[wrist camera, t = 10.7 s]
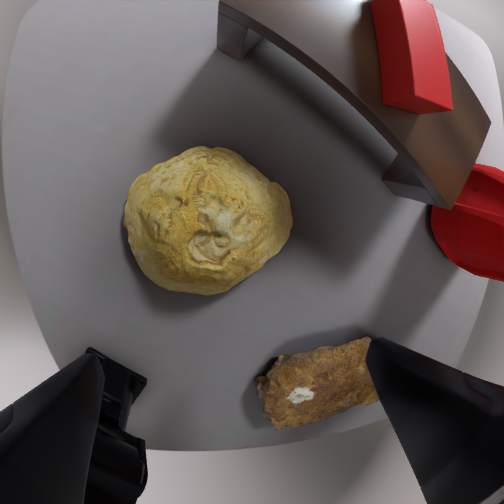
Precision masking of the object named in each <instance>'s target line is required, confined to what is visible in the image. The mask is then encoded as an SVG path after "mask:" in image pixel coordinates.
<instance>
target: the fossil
mask: <svg viewBox="0 0 504 504" xmlns="http://www.w3.org/2000/svg"><path fill="white" fill-rule="evenodd" d="M124 213H125V218H124V220H123V225H124V227H125V228H126V229H127V230H128V242H129V244H130V246H131V250H132V253H133V254H134V256H135V258H136V261H137V263H138V264H139V266H140V268H141V270H142V271H143V273H144V274H145V275H146V276H147V277H148V278H149V279H150V280H152V281H153V282H155V283H156V284H157V285H158V286H160V287H163V288H165V289H167V290H171V291H176V292H186V293H193V294H203V295H207V296H209V295H213V294H219V293H224V292H226V291H228V290H229V289H230V288H232V287H233V286H235V285H236V284H237V283H239V282H241V281H242V280H244V279H246V278H247V277H249V276H250V275H252V274H253V273H255V272H257V271H259V270H260V269H261V268H262V267H263V265H264V263H265V262H266V261H267V260H268V259H270V258H272V257H273V256H274V255H276V254H277V253H278V252H279V251H280V250H281V248H282V247H283V246H284V244H285V243H286V241H287V239H288V237H289V235H290V230H291V228H292V227H293V218H292V214H291V206H290V200H289V198H288V195H287V193H286V191H285V190H284V189H283V188H282V187H281V186H280V185H279V184H278V183H276V182H271V181H269V179H268V178H266V177H265V176H264V175H263V174H262V172H260V171H258V170H257V169H256V168H255V167H253V166H252V165H250V164H249V163H247V161H246V160H245V159H244V158H243V157H242V156H240V155H239V154H237V153H235V152H233V151H231V150H229V149H226V148H223V147H215V148H213V149H212V148H208V147H205V146H198V147H194V148H190V149H187V150H186V151H184V152H183V153H181V154H180V155H179V156H174V157H173V158H171V159H170V160H168V161H165V162H161V163H158V164H156V165H154V166H153V167H152V168H151V169H149V171H148V172H147V173H143V174H142V175H140V176H138V177H137V178H136V180H135V181H134V182H133V184H132V185H131V187H130V189H129V191H128V200H127V202H126V204H125V209H124Z"/></svg>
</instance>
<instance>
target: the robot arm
mask: <svg viewBox="0 0 504 504" xmlns="http://www.w3.org/2000/svg"><path fill="white" fill-rule="evenodd" d="M90 352H91V353H90ZM365 362H366V366H367V368H368V371H369V373H370V376H371V379H372V381H373V384H374V387H375V390H376V392H377V395H378V397H379V399H380V402H381V404H382V406H383V408H384V410H385V412H386V414H387V416H388V418H389V420H390V422H391V424H392V426H393V428H394V430H395V432H396V434H397V436H398V439H399V441H400V443H401V445H402V447H403V449H404V451H405V454H406V456H407V458H408V460H409V462H410V464H411V467H412V469H413V471H414V474H415V476H416V478H417V480H418V483H419V485H420V487H421V490H422V492H423V495H424V497H425V500H426V502H427V504H504V386H501V385H497V384H494V383H491V382H488V381H485V380H482V379H479V378H476V377H474V376H472V375H469V374H467V373H463V372H462V371H460V370H457V369H455V368H452V367H450V366H448V365H445V364H443V363H441V362H438V361H436V360H434V359H431V358H429V357H427V356H424V355H422V354H420V353H417V352H415V351H413V350H411V349H408V348H406V347H404V346H401V345H399V344H397V343H395V342H392V341H390V340H388V339H386V338H383V337H379V338H374V339H372V340H371V341H370V343H369V347H368V350H367V354H366V357H365ZM142 381H143V382H142ZM146 384H147V379H146V378H145V377H143V376H141V375H139V374H137V373H135V372H133V371H131V370H129V369H128V368H126V367H124V366H122V365H120V364H119V363H117V362H115V361H113V360H112V359H110V358H108V357H106V356H105V355H103V354H101V353H100V352H98V351H96V350H95V349H93V348H91V347H89V348H87V350H86V352H85V354H83V355H82V356H80V357H79V358H77V359H76V360H75V361H73V362H72V363H70V364H69V365H67V366H66V367H64V368H63V369H61V370H60V371H58V372H57V373H56V374H54V375H53V376H51V377H50V378H48V379H47V380H45V381H44V382H42V383H41V384H40V385H38V386H37V387H35V388H34V389H32V390H31V391H29V392H28V393H27V394H25V395H24V396H22V397H21V398H20V399H18V400H16V401H15V402H14V403H13V404H11V405H9V406H8V407H6V408H5V409H3V410H2V411H0V504H136V501H137V498H138V497H139V496H141V494H142V493H143V491H144V489H145V486H146V483H147V477H148V471H147V461H146V449H145V440H143V439H141V438H137V437H135V436H133V435H131V434H129V433H127V432H125V429H126V425H127V420H128V416H129V412H130V408H131V405H132V404H133V403H134V401H135V400H136V398H137V397H138V396H139V394H140V393H141V391H142V390H143V389H144V387H145V386H146Z"/></svg>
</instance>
